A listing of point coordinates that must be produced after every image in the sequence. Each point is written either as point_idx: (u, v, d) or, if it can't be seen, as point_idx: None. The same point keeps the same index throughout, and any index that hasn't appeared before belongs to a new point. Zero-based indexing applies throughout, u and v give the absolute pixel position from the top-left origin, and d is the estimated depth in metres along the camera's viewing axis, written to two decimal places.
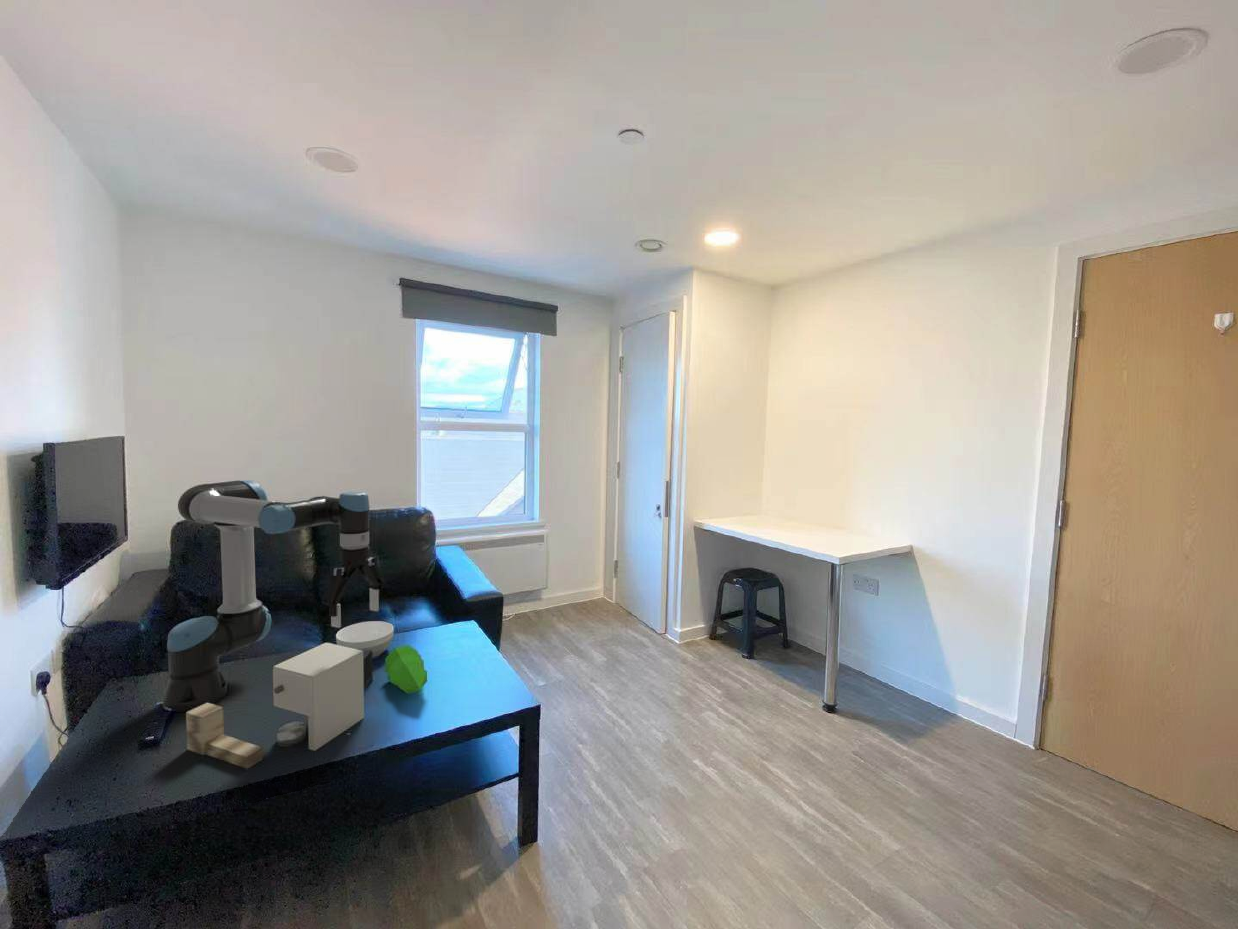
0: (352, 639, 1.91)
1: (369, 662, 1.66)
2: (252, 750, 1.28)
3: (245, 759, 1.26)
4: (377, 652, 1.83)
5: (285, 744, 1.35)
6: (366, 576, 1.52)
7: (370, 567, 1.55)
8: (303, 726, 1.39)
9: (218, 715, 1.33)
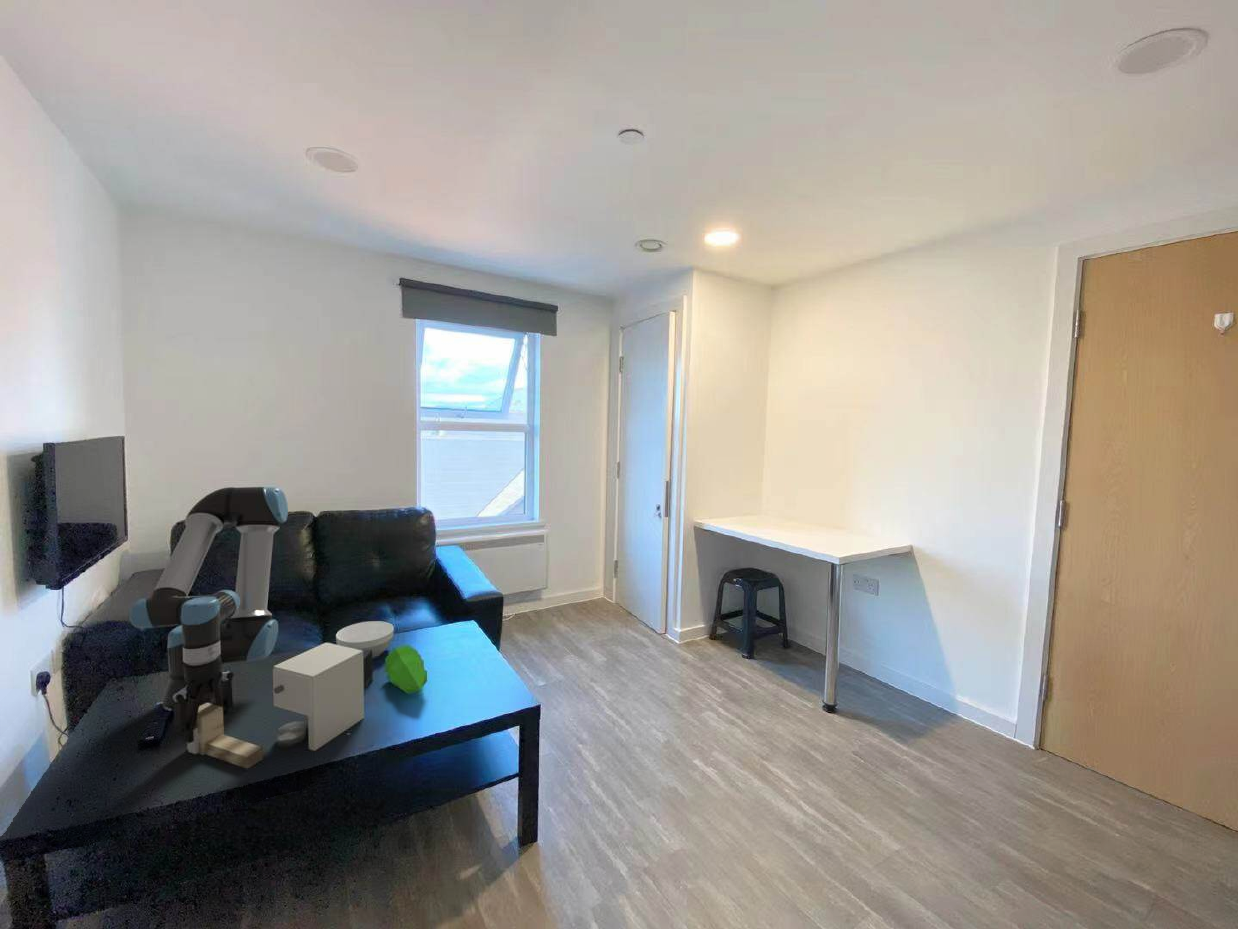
0: (352, 639, 1.92)
1: (369, 662, 1.66)
2: (252, 750, 1.28)
3: (245, 759, 1.26)
4: (377, 652, 1.83)
5: (286, 744, 1.35)
6: (213, 694, 1.34)
7: (222, 683, 1.37)
8: (303, 726, 1.39)
9: (218, 715, 1.33)
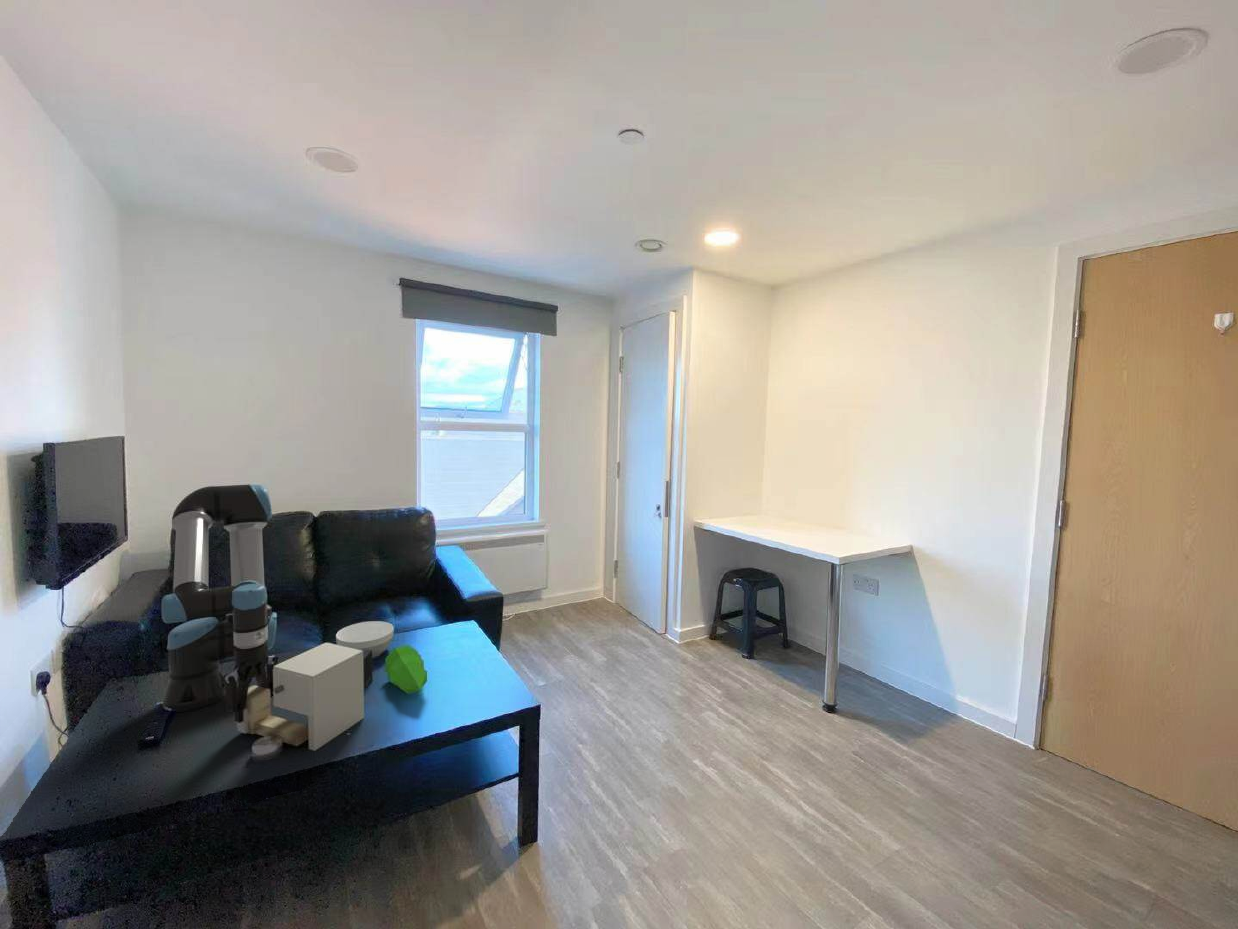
0: (352, 639, 1.92)
1: (369, 662, 1.66)
2: (300, 728, 1.35)
3: (295, 737, 1.33)
4: (377, 652, 1.83)
5: (271, 756, 1.30)
6: (260, 677, 1.41)
7: (268, 667, 1.44)
8: (278, 736, 1.34)
9: (266, 696, 1.40)
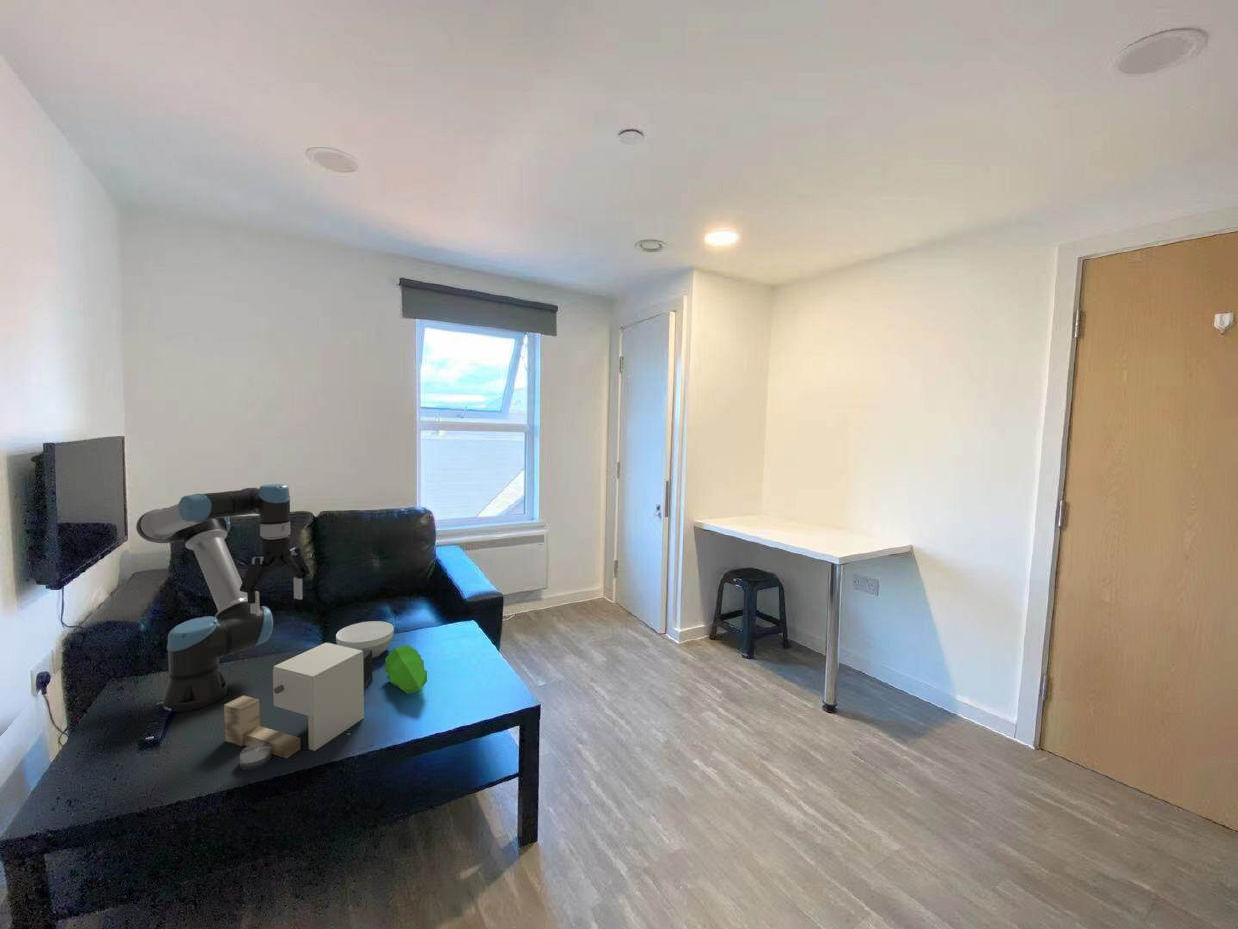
0: (352, 639, 1.92)
1: (369, 662, 1.66)
2: (290, 740, 1.33)
3: (284, 749, 1.30)
4: (377, 652, 1.83)
5: (260, 764, 1.27)
6: (288, 565, 1.57)
7: (293, 557, 1.60)
8: (266, 743, 1.31)
9: (255, 707, 1.37)
